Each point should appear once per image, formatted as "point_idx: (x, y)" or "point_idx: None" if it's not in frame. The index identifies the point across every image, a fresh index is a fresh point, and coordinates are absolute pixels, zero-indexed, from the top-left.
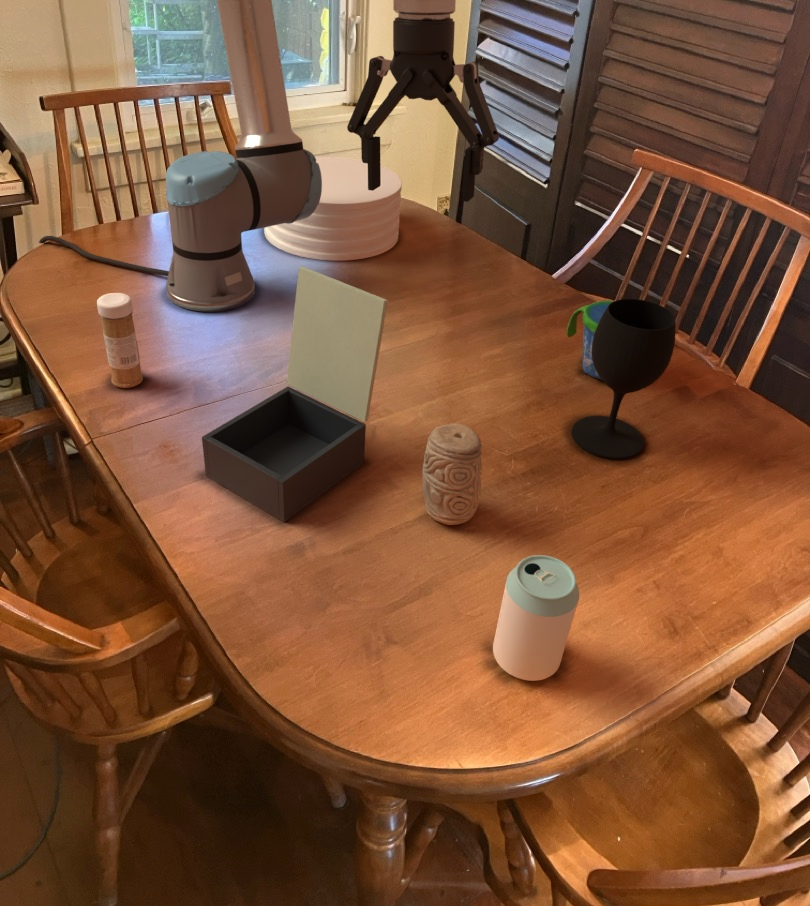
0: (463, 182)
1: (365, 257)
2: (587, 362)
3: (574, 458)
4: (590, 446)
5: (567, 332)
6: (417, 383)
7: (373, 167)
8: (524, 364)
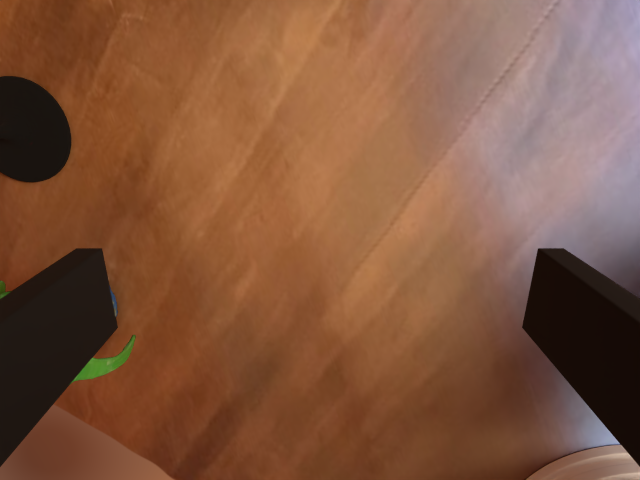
0: (49, 283)
1: (529, 477)
2: None
3: (40, 56)
4: (26, 88)
5: (132, 336)
6: (316, 145)
7: (602, 307)
8: (191, 271)
